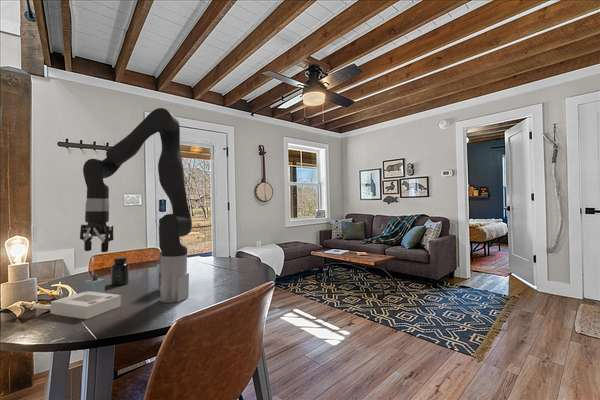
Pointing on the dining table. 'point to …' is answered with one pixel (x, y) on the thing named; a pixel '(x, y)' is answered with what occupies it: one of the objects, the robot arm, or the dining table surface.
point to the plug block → (95, 285)
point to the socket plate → (85, 304)
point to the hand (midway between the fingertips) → (96, 251)
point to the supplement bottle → (120, 272)
